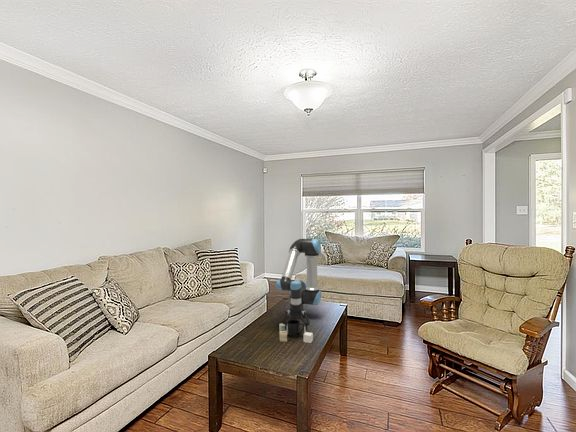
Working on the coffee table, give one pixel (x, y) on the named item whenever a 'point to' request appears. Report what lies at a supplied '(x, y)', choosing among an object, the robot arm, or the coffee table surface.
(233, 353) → the coffee table surface
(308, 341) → the cream cube
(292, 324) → the mug
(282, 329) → the sage cube
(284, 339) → the maple cube
